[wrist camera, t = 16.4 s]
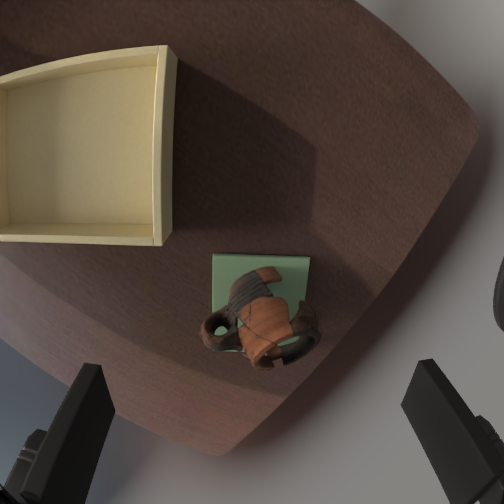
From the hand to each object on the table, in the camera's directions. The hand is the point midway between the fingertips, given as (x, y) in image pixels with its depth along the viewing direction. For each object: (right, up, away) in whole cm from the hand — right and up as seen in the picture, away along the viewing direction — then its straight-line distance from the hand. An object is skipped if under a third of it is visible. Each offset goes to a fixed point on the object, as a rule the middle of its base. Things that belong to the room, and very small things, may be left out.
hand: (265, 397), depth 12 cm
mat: (0, 0, +24) cm, 24 cm away
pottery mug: (0, 0, +23) cm, 23 cm away
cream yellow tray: (-19, +16, +17) cm, 30 cm away
